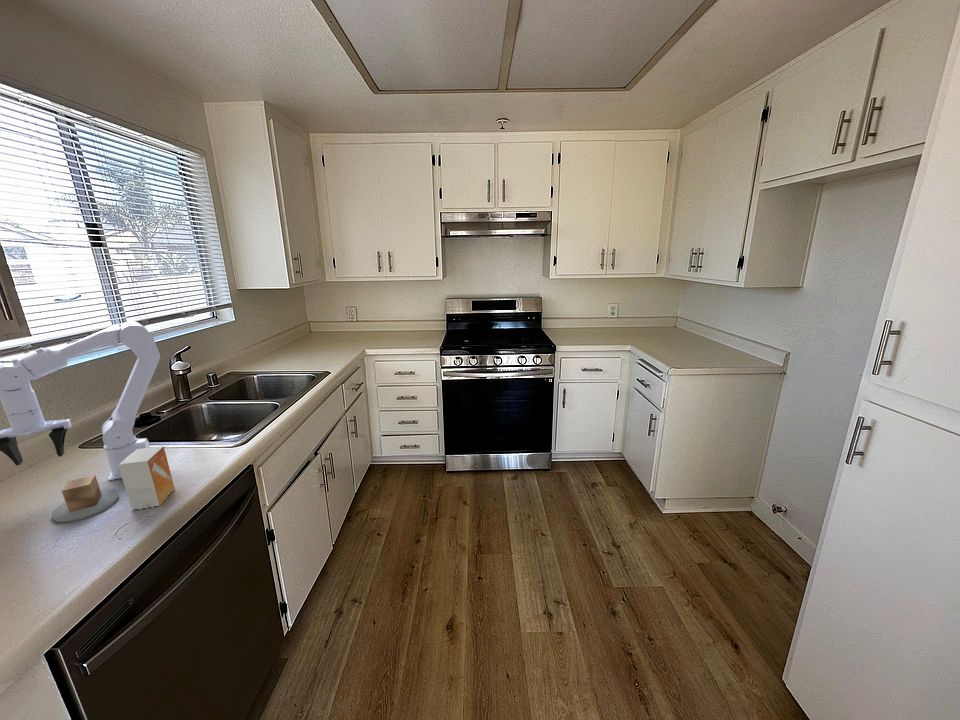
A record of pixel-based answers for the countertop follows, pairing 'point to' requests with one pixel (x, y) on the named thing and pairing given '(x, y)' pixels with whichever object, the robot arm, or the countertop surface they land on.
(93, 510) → the slate dish
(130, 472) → the small box
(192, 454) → the countertop surface
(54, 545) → the countertop surface
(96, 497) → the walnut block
